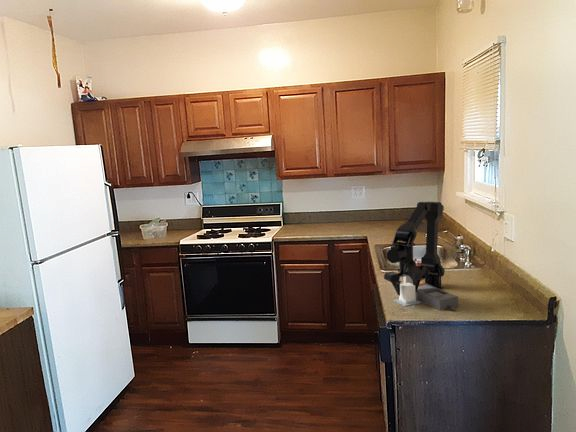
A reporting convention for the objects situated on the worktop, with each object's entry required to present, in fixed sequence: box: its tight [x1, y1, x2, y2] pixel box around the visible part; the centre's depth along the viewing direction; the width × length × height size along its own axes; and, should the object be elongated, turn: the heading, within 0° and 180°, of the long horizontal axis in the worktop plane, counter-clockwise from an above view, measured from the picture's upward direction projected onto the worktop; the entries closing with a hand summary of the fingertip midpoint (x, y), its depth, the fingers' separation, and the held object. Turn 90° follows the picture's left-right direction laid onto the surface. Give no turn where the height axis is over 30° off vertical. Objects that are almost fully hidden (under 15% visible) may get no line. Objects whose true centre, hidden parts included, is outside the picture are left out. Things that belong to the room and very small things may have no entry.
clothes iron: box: [416, 217, 427, 234], centre depth 327 cm, size 8×16×13 cm, turn 65°
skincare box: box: [402, 261, 419, 284], centre depth 205 cm, size 6×4×12 cm
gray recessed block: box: [412, 281, 459, 312], centre depth 185 cm, size 9×25×5 cm, turn 20°
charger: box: [398, 282, 417, 304], centre depth 187 cm, size 5×5×7 cm
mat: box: [393, 298, 422, 307], centre depth 187 cm, size 8×8×1 cm
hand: (407, 293), depth 187 cm, fingers open, 8 cm apart
